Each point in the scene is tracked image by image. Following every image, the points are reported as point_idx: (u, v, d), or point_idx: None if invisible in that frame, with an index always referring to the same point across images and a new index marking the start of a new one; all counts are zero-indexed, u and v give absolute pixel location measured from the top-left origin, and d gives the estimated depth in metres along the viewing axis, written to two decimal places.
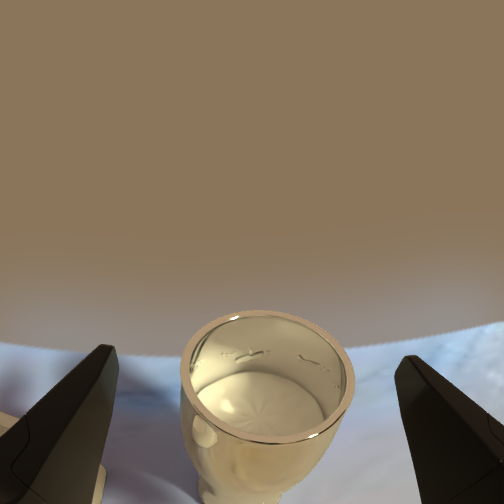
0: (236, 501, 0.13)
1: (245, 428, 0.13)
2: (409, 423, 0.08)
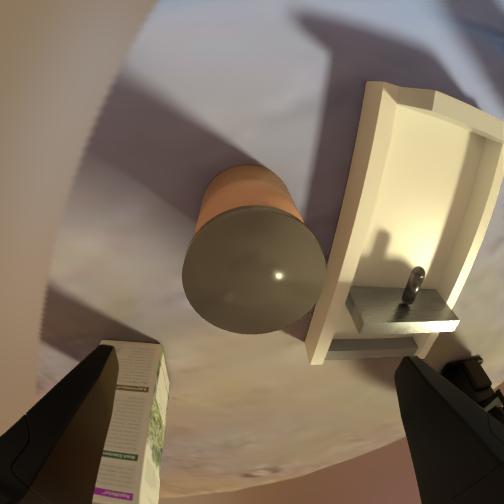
0: None
1: None
2: (409, 423, 0.08)
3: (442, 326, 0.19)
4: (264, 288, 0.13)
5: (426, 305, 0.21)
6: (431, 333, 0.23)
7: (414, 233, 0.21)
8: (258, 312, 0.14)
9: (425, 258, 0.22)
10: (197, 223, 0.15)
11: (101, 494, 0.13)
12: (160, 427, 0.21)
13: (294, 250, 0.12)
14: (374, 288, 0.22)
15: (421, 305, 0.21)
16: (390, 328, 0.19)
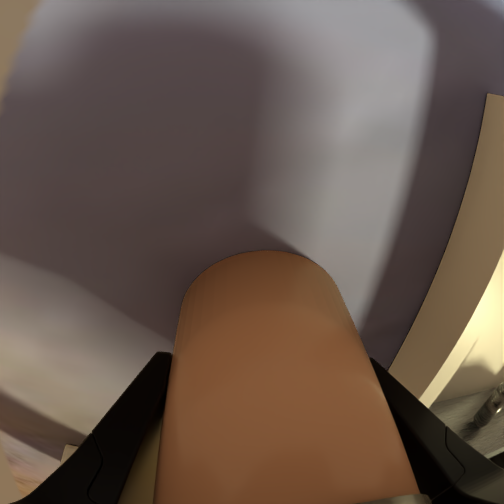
0: None
1: None
2: None
3: None
4: None
5: (498, 418, 0.12)
6: None
7: (503, 331, 0.12)
8: None
9: None
10: (163, 429, 0.06)
11: None
12: None
13: None
14: (439, 404, 0.13)
15: (493, 420, 0.11)
16: None
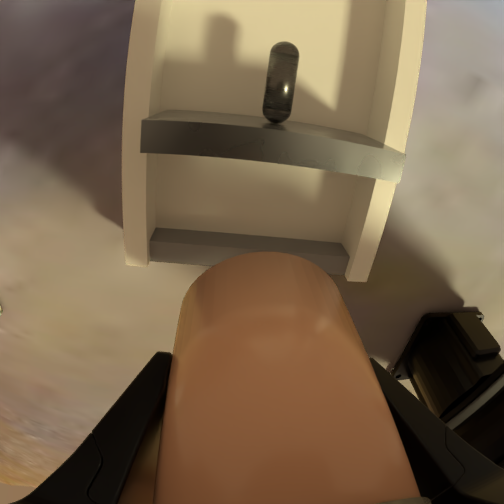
0: None
1: None
2: None
3: (362, 161, 0.09)
4: None
5: (326, 131, 0.11)
6: (367, 220, 0.13)
7: (287, 22, 0.11)
8: None
9: (324, 70, 0.12)
10: (162, 431, 0.06)
11: None
12: None
13: None
14: (222, 113, 0.12)
15: (313, 129, 0.11)
16: (212, 140, 0.09)
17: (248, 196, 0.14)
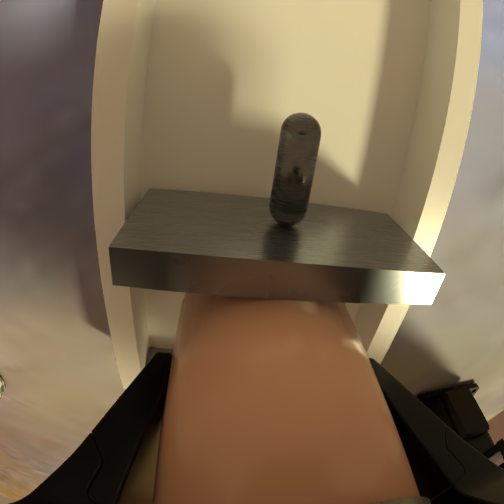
0: None
1: None
2: None
3: (393, 289, 0.07)
4: None
5: (349, 234, 0.09)
6: (367, 354, 0.12)
7: None
8: None
9: (335, 192, 0.11)
10: (162, 431, 0.06)
11: None
12: None
13: None
14: (217, 195, 0.10)
15: (334, 232, 0.09)
16: (204, 276, 0.07)
17: None
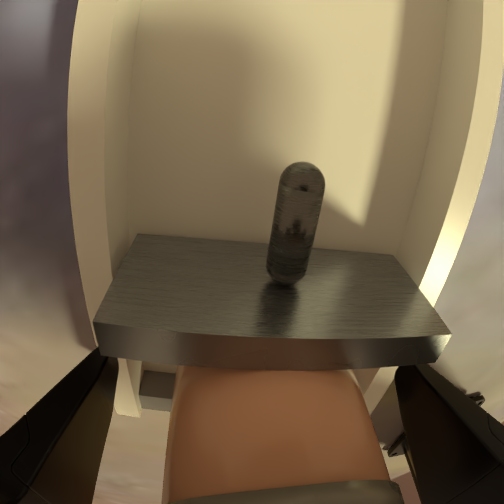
0: None
1: None
2: (409, 423, 0.08)
3: (396, 354, 0.07)
4: None
5: (353, 289, 0.08)
6: (375, 379, 0.11)
7: (297, 141, 0.09)
8: None
9: (344, 208, 0.10)
10: (171, 423, 0.07)
11: None
12: None
13: None
14: (210, 242, 0.09)
15: (336, 289, 0.08)
16: (195, 351, 0.06)
17: None
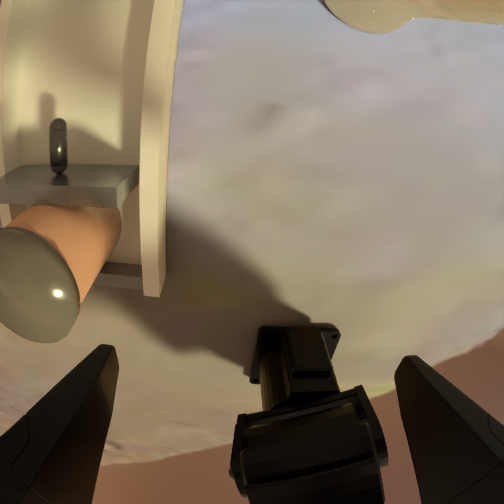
0: (400, 5, 0.09)
1: None
2: (409, 423, 0.08)
3: (87, 197, 0.13)
4: (28, 301, 0.12)
5: (87, 174, 0.15)
6: (142, 251, 0.18)
7: (81, 109, 0.15)
8: (34, 323, 0.12)
9: (109, 140, 0.16)
10: None
11: None
12: None
13: (34, 268, 0.11)
14: (47, 165, 0.16)
15: (79, 174, 0.14)
16: (13, 195, 0.13)
17: None
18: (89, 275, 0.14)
